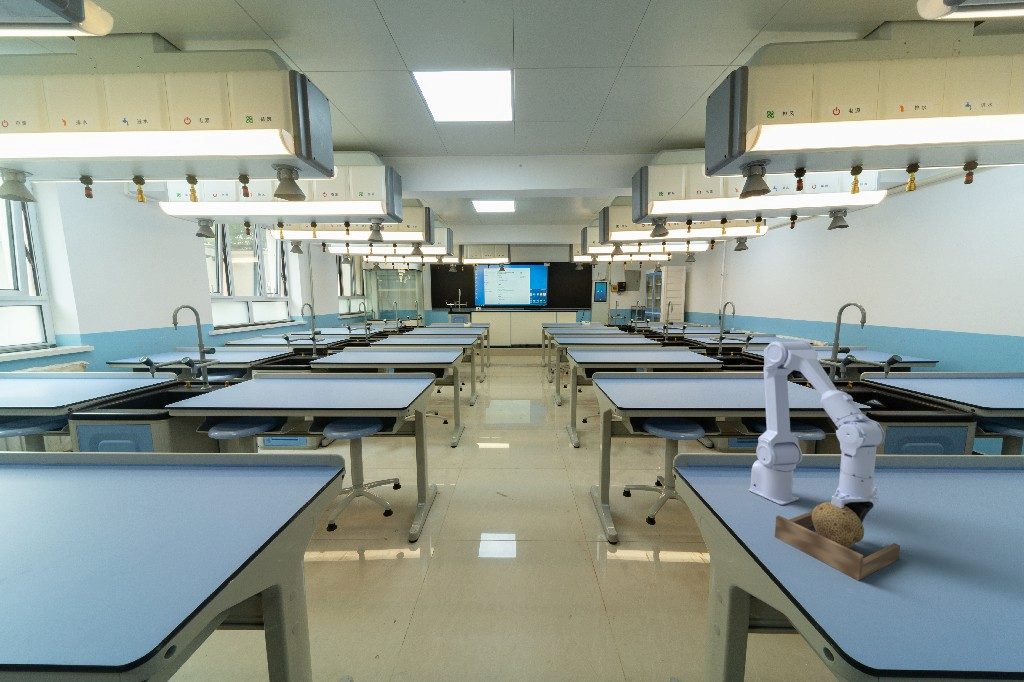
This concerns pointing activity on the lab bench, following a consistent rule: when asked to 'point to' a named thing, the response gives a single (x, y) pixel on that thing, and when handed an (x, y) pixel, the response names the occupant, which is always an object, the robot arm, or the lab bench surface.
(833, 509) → the natural sponge
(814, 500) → the lab bench surface
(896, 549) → the wooden u-shaped fence
